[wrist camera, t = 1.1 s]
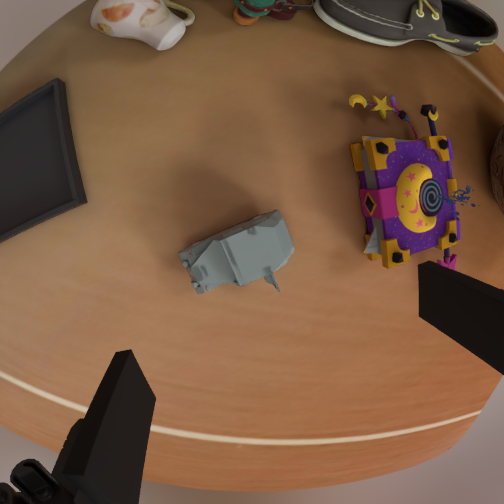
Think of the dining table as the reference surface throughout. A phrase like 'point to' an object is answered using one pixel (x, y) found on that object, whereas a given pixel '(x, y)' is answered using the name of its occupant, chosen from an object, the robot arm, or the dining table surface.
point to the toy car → (240, 253)
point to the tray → (37, 161)
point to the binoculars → (266, 10)
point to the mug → (142, 21)
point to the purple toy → (407, 191)
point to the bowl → (498, 169)
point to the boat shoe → (412, 22)
